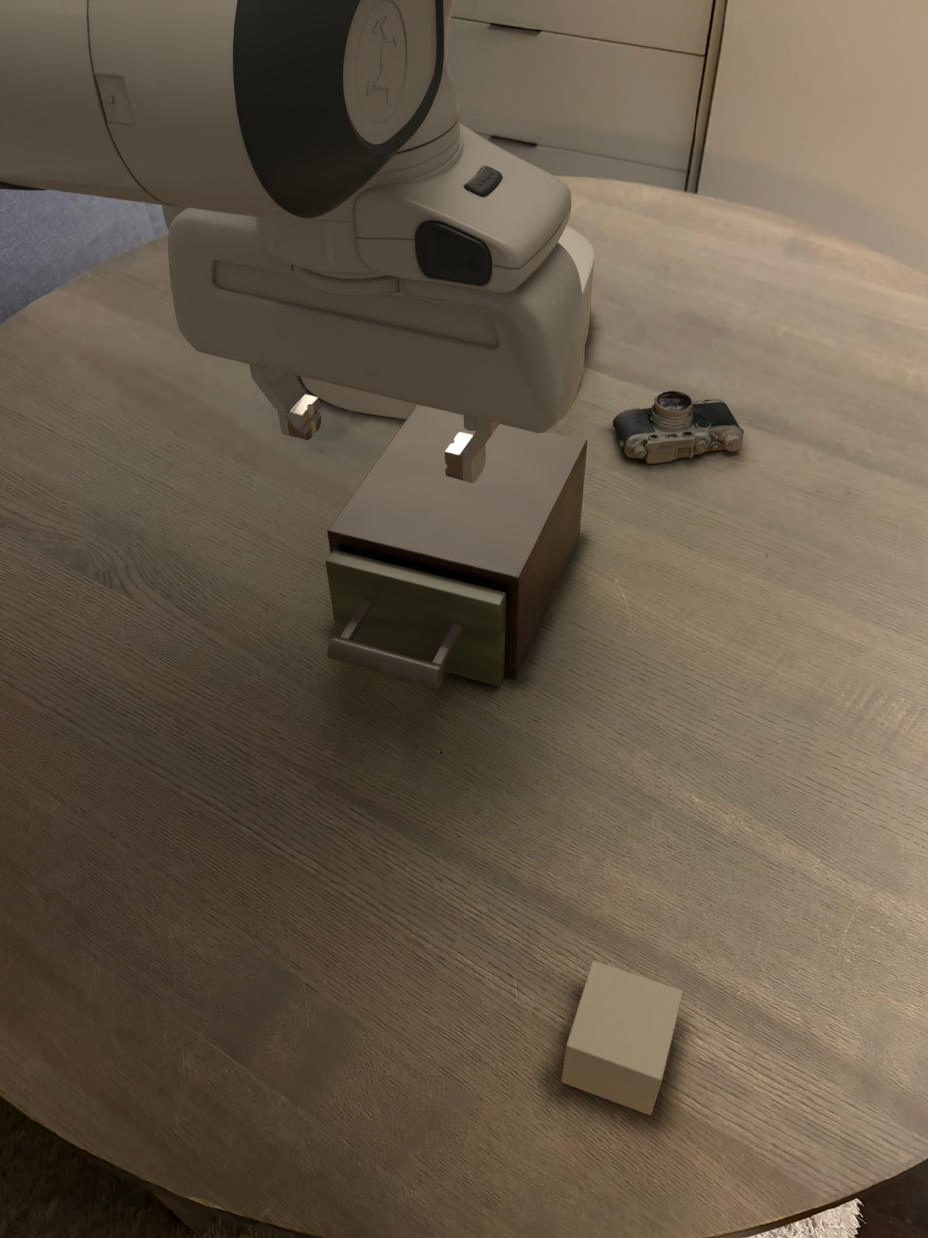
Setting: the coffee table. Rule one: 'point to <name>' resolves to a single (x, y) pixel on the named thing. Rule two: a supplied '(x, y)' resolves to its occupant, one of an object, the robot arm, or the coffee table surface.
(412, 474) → the cabinet
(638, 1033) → the block
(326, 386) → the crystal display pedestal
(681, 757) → the coffee table surface
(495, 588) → the drawer
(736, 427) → the camera
